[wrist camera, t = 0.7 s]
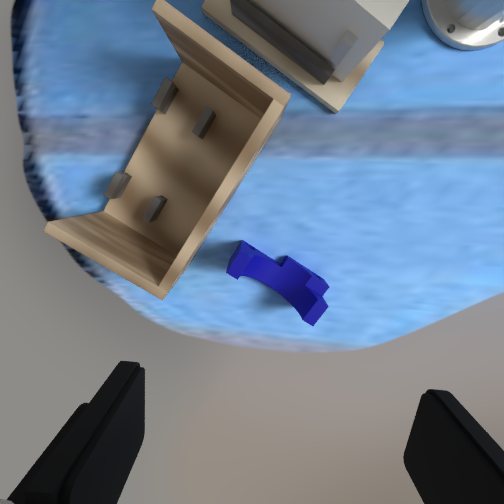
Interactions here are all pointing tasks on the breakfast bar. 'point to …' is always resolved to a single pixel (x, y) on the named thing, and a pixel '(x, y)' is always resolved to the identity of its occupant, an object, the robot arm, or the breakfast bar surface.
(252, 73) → the cabinet
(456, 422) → the robot arm
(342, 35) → the door
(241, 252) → the cable clip
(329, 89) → the door stand
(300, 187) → the breakfast bar surface
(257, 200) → the breakfast bar surface
